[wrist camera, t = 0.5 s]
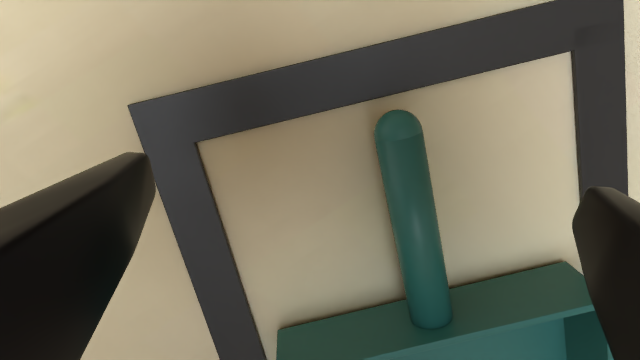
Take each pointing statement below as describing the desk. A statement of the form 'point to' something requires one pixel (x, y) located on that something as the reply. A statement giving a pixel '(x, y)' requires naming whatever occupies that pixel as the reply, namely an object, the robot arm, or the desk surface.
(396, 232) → the dustpan
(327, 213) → the desk surface
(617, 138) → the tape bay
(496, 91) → the desk surface
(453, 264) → the desk surface
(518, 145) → the desk surface
